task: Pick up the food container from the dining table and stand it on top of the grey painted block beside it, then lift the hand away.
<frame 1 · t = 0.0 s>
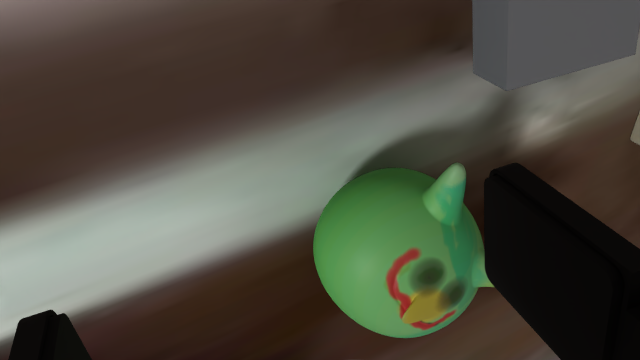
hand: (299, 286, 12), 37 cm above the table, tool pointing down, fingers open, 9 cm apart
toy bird: (376, 213, 59), on the table
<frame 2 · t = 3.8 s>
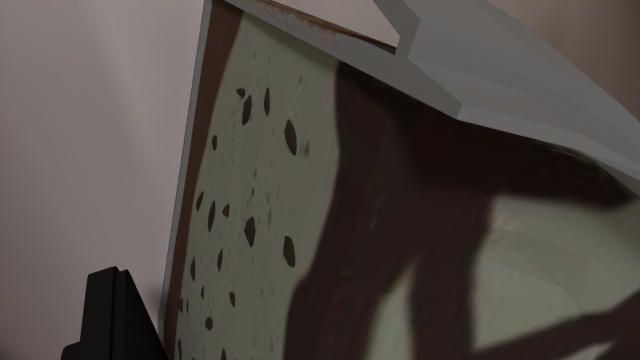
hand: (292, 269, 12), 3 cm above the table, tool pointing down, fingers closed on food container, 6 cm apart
food container: (294, 181, 15), on the table, touching gripper
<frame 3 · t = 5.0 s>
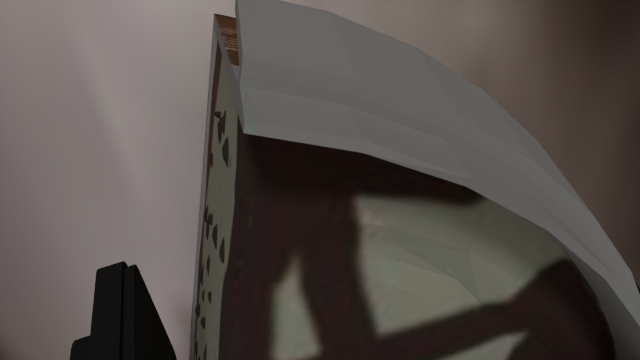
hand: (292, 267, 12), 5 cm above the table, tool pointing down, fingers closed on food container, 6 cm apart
food container: (310, 194, 15), point 1 cm above the table, touching gripper
when the fingers open (10 cm above the table, at t = 9.7 s): food container stays where it is, point 6 cm above the table.
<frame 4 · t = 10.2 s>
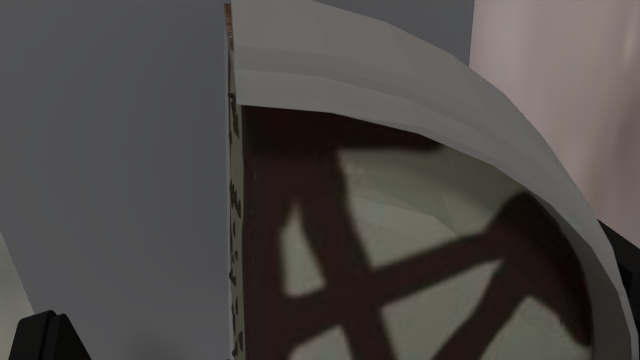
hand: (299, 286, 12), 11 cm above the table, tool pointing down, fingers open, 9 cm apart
grey block: (225, 110, 21), on the table
food container: (328, 164, 16), point 6 cm above the table
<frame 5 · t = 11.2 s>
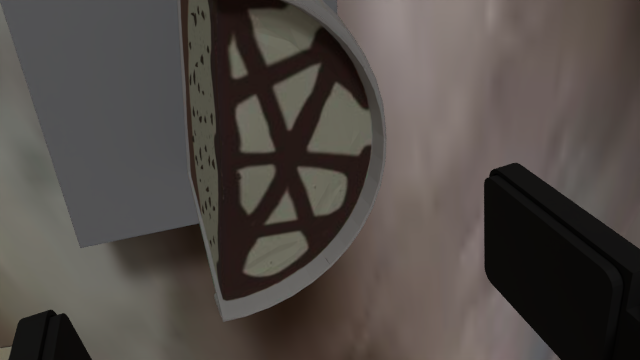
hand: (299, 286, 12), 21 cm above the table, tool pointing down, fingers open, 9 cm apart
grey block: (186, 60, 30), on the table
food container: (247, 78, 26), point 5 cm above the table
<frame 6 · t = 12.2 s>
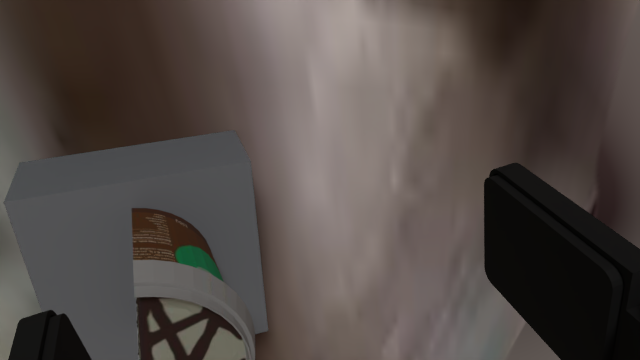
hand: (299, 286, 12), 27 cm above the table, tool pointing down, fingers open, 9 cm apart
grey block: (150, 229, 40), on the table, touching food container
food container: (183, 266, 36), point 5 cm above the table, touching grey block
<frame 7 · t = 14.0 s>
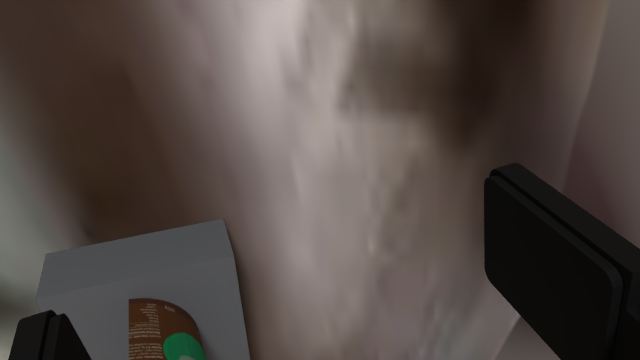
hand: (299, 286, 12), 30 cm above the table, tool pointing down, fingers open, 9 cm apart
grey block: (154, 297, 48), on the table
food container: (174, 337, 43), point 5 cm above the table
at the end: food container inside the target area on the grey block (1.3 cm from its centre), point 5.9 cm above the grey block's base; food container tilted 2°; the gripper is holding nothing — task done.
